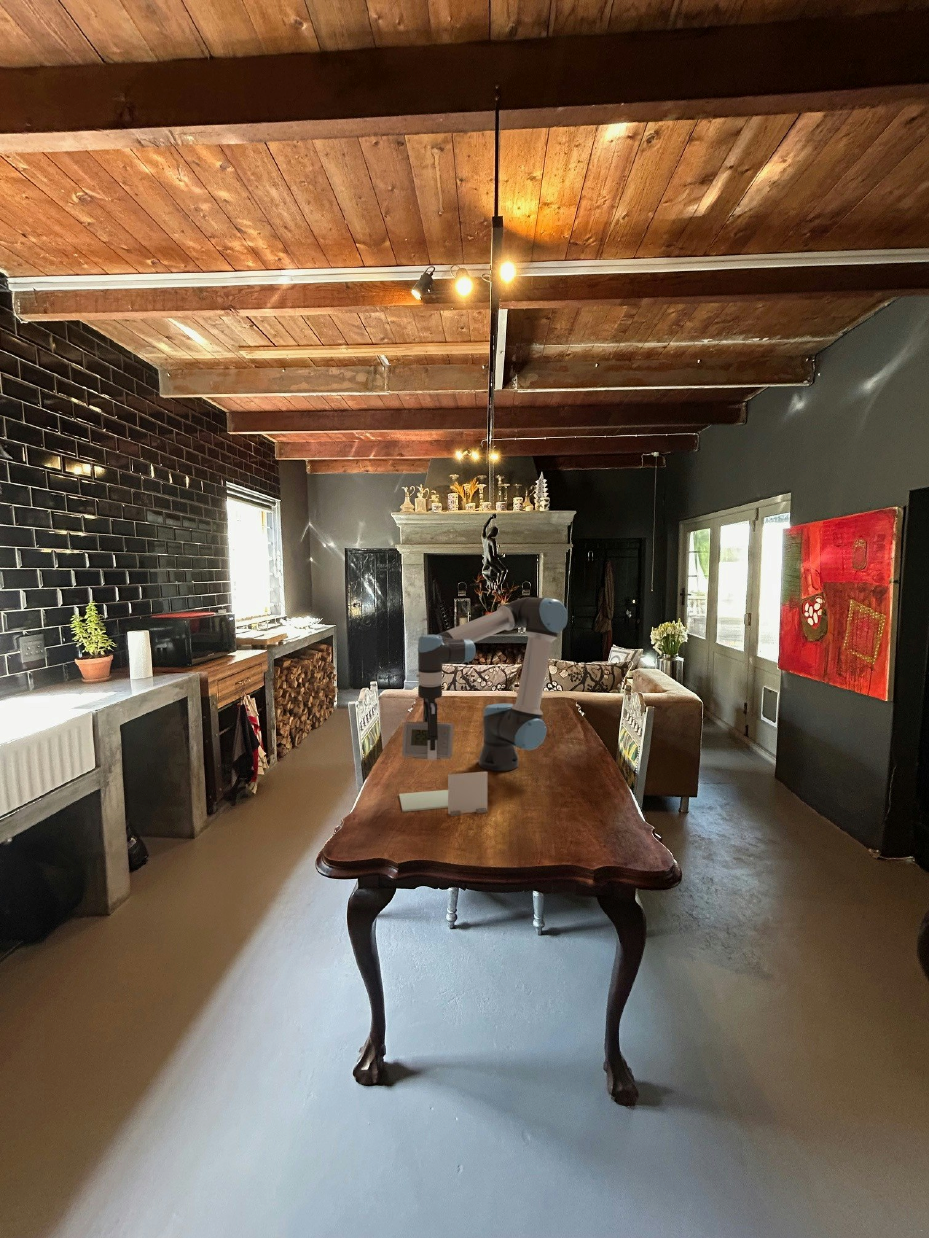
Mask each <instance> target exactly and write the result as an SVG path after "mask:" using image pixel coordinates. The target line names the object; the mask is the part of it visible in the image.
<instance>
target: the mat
mask: <svg viewBox="0 0 929 1238" xmlns="http://www.w3.org/2000/svg"><path fill="white" fill-rule="evenodd" d="M398 796H399V802H400V806H401V810H402V811H401V812H416V811H427V810H438V809H448V789H443V790H442V789H441V790H430V791H429V790H428V791H419V792H418V791H417V792H416V791H415V792H405V793H399V794H398Z"/></svg>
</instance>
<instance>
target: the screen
mask: <svg viewBox="0 0 929 1238" xmlns="http://www.w3.org/2000/svg"><path fill="white" fill-rule="evenodd" d="M447 790H448V808H447V813H448V815H450V816H451V817H454V816H455V817H456V816H461V815H462V814H467V813H476V814H478V815H479V814H487V812H488V771H477V772H465V773H464V772H463V773H451V774H447Z"/></svg>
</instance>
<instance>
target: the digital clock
mask: <svg viewBox="0 0 929 1238" xmlns="http://www.w3.org/2000/svg"><path fill="white" fill-rule="evenodd" d="M437 727H438V739H437V760H441V759H446V760H448V759H452V758H453V746H454V743H453V742H454V724H453V723H451V722H439V721H437ZM402 730H403V733H402V747H401V756H402V757H404V758H412V759H422V760H423V759H424V760H428V740H426V738H428V722H423V721H405V722H404V723H403V729H402ZM432 736H435V735H432Z"/></svg>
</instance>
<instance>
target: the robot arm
mask: <svg viewBox="0 0 929 1238" xmlns="http://www.w3.org/2000/svg"><path fill="white" fill-rule="evenodd" d="M568 618H569V616H568V611H567V608H566V607H565V605H564V603H562V602H561V601H560V600H559V599H555V598H551V597H550V598H549V597H533V596H527V597H522V598H519V599H516V600H513V601H511V602H508V603H505V604H503V605H500V606H499V607H498V608H497V610H496V611H494V612H491V613H488V614H485V615H483V616H480V617H478V618H476V619H473V620H470V621H468V622H465V623H462V624H460V625H458V626H455V627H453V628H450V629H448V630H446V631H442V632H440V633H438V634H424V635H420V636H419V637H418V643H417V645H418V646H417V668H418V674H415V675H416V677H415V678H417V679H418V680H417V681H418V686H417V696H418V698H420V699H422V700H423V702H422V707H423V710H422V711H423V712H422V714H423V716H422V717H423V719H422V720H423V721H422V722H428V738H426V740H428V759H427V761H437V760H438V759H437V739H438V727H437V722H438V710H439V708H438V703H437V701H436V699H440V698H441V697H443V686H442V684H443V665H450V664H451V665H452V664H461V663H462V664H464V663H467V662H472V661H473V660H474V658H475V657H476V645H475V643H476V642H478V641H481V640H483V639H486V638H489V637H490V636H493V635H495V634H497V633H500V632H502V631H508V632H509V631H512V630H514V629H518V628H519V629H520V628H521V629H525V630H524V631H525V632H524V633H525V634H526V636H527V644H526V647H525V648H526V649H525V653H524V659H523V664H522V668H521V675H520V680H519V684H518V690H517V695H516V701H515V703H514V704H513V703H505V702H504V703H492V704H489V705H486V706H485V707H484V708H483V714H482V715H483V716H482V717H483V744H482V747H481V751H480V753H479V757H478V766H479V767H481V768H482V769H485V770H488V771H492V772H493V771H494V772H507V771H512V770H514V769H517V768H518V767H519V763H520V761H519V756H518V753H517V750H516V749H517V748H518V749H520V750H521V749H523V750H526V751H532V750H536V749H537V748H538V747H539V746H541V745H542V744H543V742H544V741H545V739H546V736H547V726H546V723H545V721H543V717H544V716H543V715H544V712H543V711H542V710H541V708H540V707H541V704H542V703H541V702H542V696H543V692H544V687H545V681H546V677H547V676H546V675H547V672H548V671H547V670H548V664H549V659H550V653H551V649H552V644H553V642H554V641H555V640H557V639H558V634H559V633H560V632H562V631H564V629H565V628H566V626H567V624H568ZM432 735H435V736H432Z"/></svg>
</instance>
